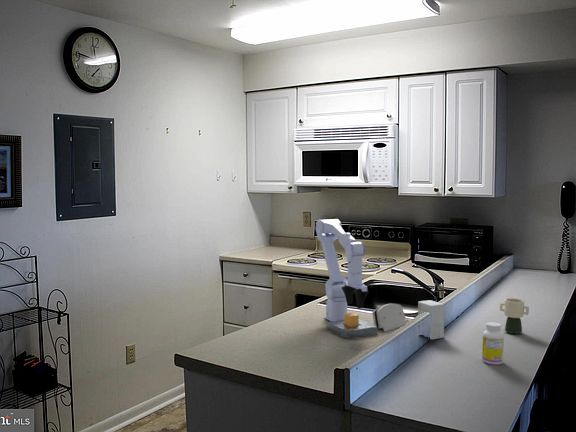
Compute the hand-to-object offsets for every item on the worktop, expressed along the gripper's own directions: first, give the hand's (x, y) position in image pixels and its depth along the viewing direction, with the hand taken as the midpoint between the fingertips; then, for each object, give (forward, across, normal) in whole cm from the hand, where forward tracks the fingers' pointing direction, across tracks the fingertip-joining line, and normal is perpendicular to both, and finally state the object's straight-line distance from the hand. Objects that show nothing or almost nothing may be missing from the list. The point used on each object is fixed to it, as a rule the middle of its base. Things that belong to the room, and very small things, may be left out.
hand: (354, 305), depth 221 cm
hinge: (+10, +2, +16) cm, 19 cm away
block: (+10, +3, -3) cm, 11 cm away
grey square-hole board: (+9, +3, -3) cm, 10 cm away
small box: (+10, +21, +21) cm, 31 cm away
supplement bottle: (+10, +53, +20) cm, 57 cm away
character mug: (+10, +32, +53) cm, 63 cm away
